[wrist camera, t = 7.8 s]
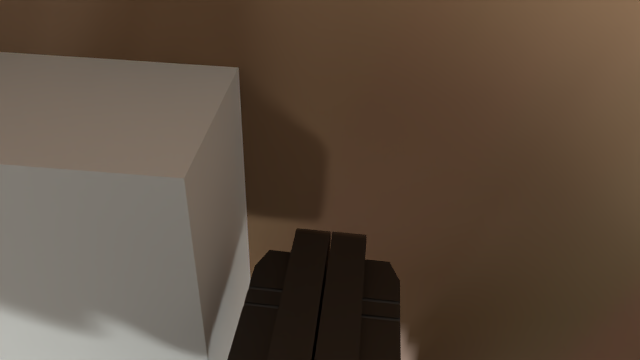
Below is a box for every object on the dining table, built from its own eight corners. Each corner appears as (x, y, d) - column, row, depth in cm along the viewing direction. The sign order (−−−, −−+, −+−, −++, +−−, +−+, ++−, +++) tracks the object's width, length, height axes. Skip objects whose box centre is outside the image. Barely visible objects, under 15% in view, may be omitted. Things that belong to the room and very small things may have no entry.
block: (239, 65, 12) (184, 177, 8) (253, 329, 16) (222, 468, 13) (-138, 41, 12) (-333, 139, 9) (-19, 304, 17) (-117, 433, 13)
